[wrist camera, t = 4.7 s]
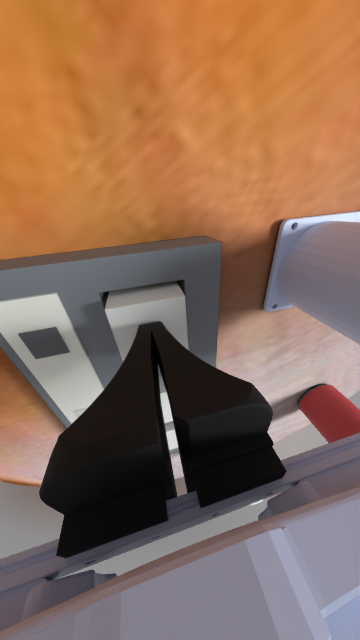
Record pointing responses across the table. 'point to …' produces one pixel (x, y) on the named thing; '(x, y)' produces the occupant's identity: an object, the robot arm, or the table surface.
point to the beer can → (330, 412)
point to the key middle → (165, 402)
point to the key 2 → (171, 436)
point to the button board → (97, 312)
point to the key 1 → (146, 312)
